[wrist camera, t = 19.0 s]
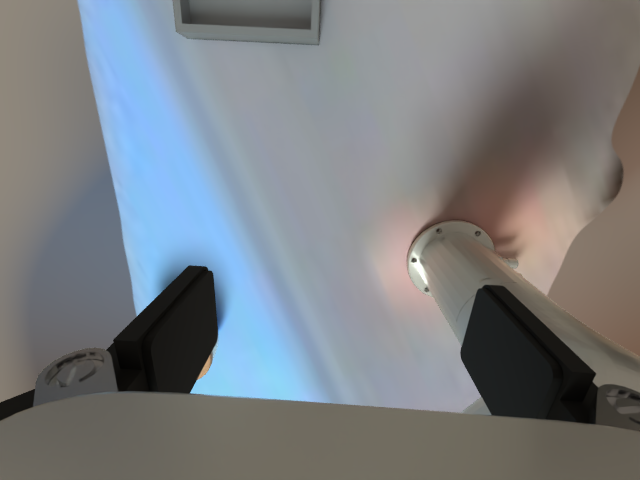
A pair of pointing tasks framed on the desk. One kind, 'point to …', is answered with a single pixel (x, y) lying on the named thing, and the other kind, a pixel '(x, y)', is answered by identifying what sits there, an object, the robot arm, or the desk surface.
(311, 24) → the tray
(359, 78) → the desk surface
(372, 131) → the desk surface
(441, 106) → the desk surface
